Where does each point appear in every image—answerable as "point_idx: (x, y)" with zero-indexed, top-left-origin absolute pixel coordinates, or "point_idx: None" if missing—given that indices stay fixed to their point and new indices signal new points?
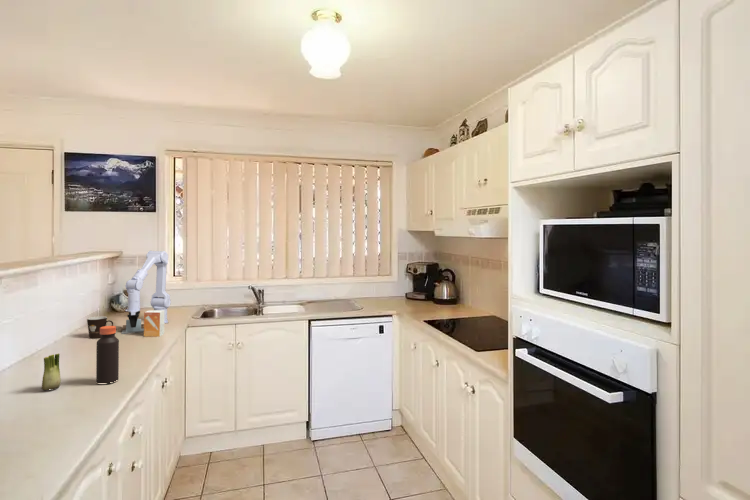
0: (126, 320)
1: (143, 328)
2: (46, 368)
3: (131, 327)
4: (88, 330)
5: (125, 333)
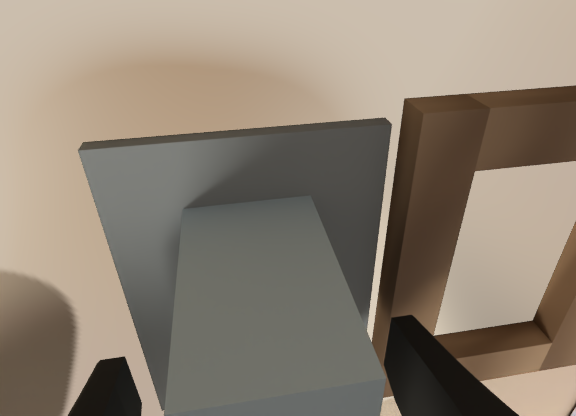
0: (231, 408)
1: None
2: None
3: (98, 365)
4: None
5: (100, 207)
